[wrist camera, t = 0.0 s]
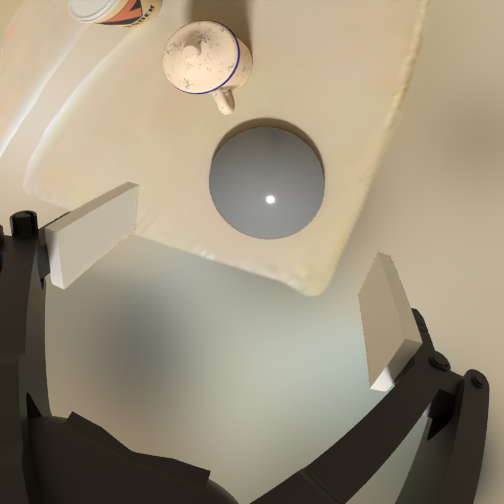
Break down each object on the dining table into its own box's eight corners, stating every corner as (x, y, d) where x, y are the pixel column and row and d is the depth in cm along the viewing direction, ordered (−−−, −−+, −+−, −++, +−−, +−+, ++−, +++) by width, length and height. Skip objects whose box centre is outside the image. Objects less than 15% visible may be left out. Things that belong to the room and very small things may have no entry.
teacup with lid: (182, 50, 36) (140, 37, 26) (241, 25, 33) (215, 0, 23) (209, 123, 41) (174, 131, 30) (271, 101, 38) (254, 100, 28)
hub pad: (223, 115, 40) (220, 116, 39) (338, 145, 39) (338, 146, 37) (203, 219, 47) (201, 222, 46) (306, 248, 46) (305, 252, 45)
